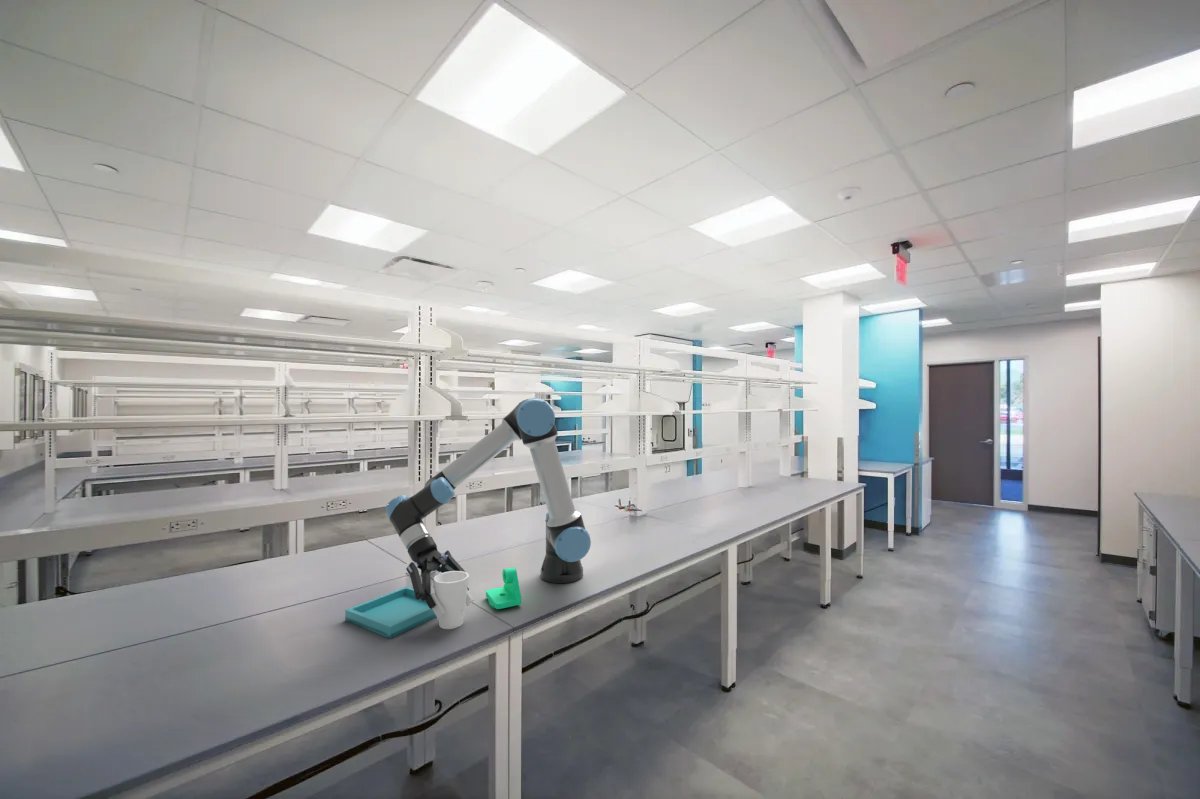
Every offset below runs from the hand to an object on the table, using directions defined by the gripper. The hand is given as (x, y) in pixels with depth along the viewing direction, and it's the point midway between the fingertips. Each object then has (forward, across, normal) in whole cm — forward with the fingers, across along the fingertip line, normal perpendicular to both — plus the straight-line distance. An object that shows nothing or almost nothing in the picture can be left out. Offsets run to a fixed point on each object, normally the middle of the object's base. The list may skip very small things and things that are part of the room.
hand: (456, 609), depth 129 cm
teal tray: (-10, +4, -17) cm, 20 cm away
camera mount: (+4, -18, -3) cm, 19 cm away
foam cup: (+2, 0, -5) cm, 5 cm away
